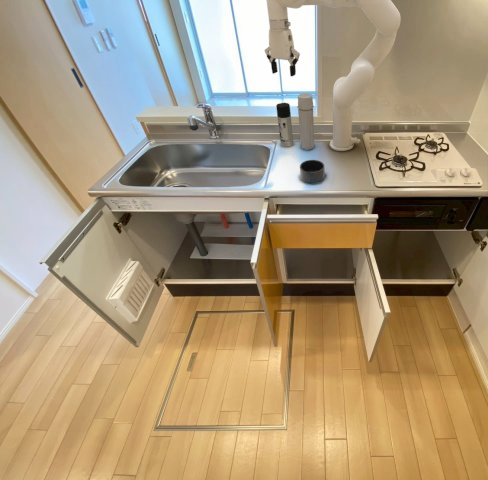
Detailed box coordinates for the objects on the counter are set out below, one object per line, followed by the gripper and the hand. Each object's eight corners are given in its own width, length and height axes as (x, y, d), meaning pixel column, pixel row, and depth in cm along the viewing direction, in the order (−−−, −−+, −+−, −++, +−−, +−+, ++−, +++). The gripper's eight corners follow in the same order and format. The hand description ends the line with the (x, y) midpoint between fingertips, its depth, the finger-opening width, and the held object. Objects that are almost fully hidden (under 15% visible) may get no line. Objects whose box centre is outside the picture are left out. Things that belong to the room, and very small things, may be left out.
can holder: (324, 170, 124) (324, 159, 120) (324, 183, 116) (324, 172, 112) (301, 170, 124) (300, 160, 120) (300, 184, 117) (299, 173, 113)
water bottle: (316, 149, 137) (314, 98, 119) (301, 151, 137) (297, 99, 119) (313, 141, 144) (311, 91, 126) (299, 143, 143) (295, 92, 125)
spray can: (279, 142, 144) (274, 103, 129) (291, 140, 145) (287, 101, 131) (282, 148, 139) (277, 108, 125) (295, 145, 141) (291, 106, 127)
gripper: (302, 24, 104) (304, 74, 117) (267, 22, 110) (273, 69, 123) (292, 27, 100) (295, 79, 112) (255, 25, 106) (263, 74, 118)
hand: (283, 74), depth 117 cm, fingers open, 9 cm apart
